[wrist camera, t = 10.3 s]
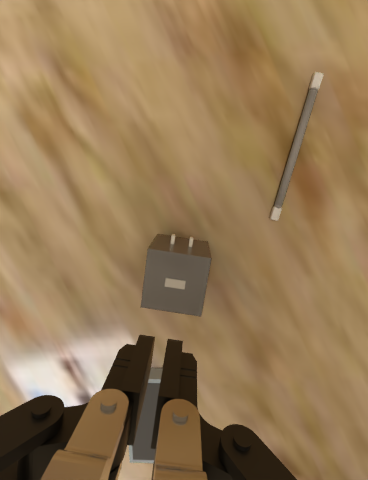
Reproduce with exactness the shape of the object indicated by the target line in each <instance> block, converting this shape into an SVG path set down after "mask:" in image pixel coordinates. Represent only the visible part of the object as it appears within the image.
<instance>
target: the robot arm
mask: <svg viewBox="0 0 368 480" xmlns="http://www.w3.org/2000/svg"><path fill="white" fill-rule="evenodd" d="M154 340H155V337H152V336H145V335H139V338H138V341H137V343H136V345H130V344H126V345H125V346H124V347H122V348H121V349H120V350H119V352H118V354H117V356H116V359H115V361H114V363H113V366H112V367H111V370H110V372H109V374H108V376H107V379H106V381H105V383H104V385H103V387H102V390H101V391H99V392H97V393H96V394H95V395H93V397H92V398H91V399H90V401H89V402H88V403H86V404H83V405H79V406H72V407H64V404H63V402H62V400H61V399H60V398H58V397H56V396H52V395H44V396H39V397H36V398H34V399H32V400H30V401H28V402H26V403H24V404H22V405H20V406H18V407H16V408H15V409H13V410H11V411H9V412H7V413H5V414H3V415H1V416H0V480H118V477H119V473H120V470H121V465H122V460H123V458H124V455H125V451H126V447H127V445H131V446H133V445H134V441H135V437H136V432H137V428H138V424H139V419H140V415H141V411H142V406H143V402H144V398H145V393H146V389H147V385H148V381H149V376H150V370H151V363H152V356H153V348H154ZM182 343H183V341H179V340H172V339H168V341H167V347H166V352H165V358H164V364H163V370H162V376H161V382H160V388H159V393H158V400H157V407H156V414H155V421H154V428H153V435H152V442H151V449H156V451H155V457H154V464H153V471H152V479H151V480H297V479H296V478H295V477H294V476H293V475H292V474H291V473H290V471H289V470H288V469H287V468H286V467H285V466H284V465H283V464H282V463H281V461H280V460H279V459H278V458H277V457H276V456H275V455H274V454H273V453H272V452H271V450H270V449H269V448H268V447H267V446H266V445H265V444H264V443H263V442H262V441H261V439H260V438H259V437H258V436H257V435H256V434H255V433H254V432H253V431H252V430H250V429H249V428H247V427H245V426H242V425H238V424H233V425H229V426H227V427H225V428H224V429H223V431H222V430H220V429H218V428H216V427H213V426H212V425H210V424H208V423H207V422H206V421H205V420H204V419H203V418H202V417H201V415H200V414H199V412H198V408H197V361H196V360H195V358H194V356H193V354H190V353H183V352H182Z"/></svg>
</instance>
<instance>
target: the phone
mask: <svg viewBox="0 0 368 480" xmlns="http://www.w3.org/2000/svg"><path fill="white" fill-rule="evenodd" d="M162 370H163V368H151V370H150V376H149V381H148V385H147V389H146V393H145V398H144V402H143V406H142V411H141V415H140V419H139V424H138V428H137V432H136V437H135V441H134V445H133V446H131V445H129V457H130V462H132V463H154V457H155V451H156V449H151V442H152V435H153V428H154V421H155V414H156V407H157V400H158V393H159V388H160V382H161V376H162Z"/></svg>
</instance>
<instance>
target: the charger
mask: <svg viewBox="0 0 368 480" xmlns="http://www.w3.org/2000/svg"><path fill="white" fill-rule="evenodd" d="M175 235H176V234H172V236H168V235H161V234H157V236H156V237H155V239H154V240H153V242H152V243H151V245H150V246H149V248H148V252H147V260H146V268H145V276H144V284H143V292H142V301H141V307H142V308H149V309H155V310H162V311H168V312H175V313H181V314H188V315H194V316H201V315H202V309H203V303H204V298H205V292H206V286H207V281H208V275H209V269H210V264H211V254H210V250H209V245H208V242H207V241H200V240H194V239H193V237H191V236H190V239H187V238H181V237H175Z"/></svg>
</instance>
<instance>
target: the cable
mask: <svg viewBox="0 0 368 480" xmlns="http://www.w3.org/2000/svg"><path fill="white" fill-rule="evenodd" d="M323 75H324V74H323V73H319V72H315V73H314V74H313V76H312V80H311V83H310V86H309V89H310V90H309V92H308V96H307V99H306V102H305V105H304V109H303V112H302V115H301V119H300V122H299V125H298V128H297V132H296V135H295V138H294V142H293V145H292V148H291V151H290V155H289V158H288V161H287V165H286V168H285V171H284V174H283V178H282V181H281V184H280V188H279V191H278V194H277V197H276V201H275V204H274V206H273V208H272V211H271V214H270V218H269V219H272V220H276V221H278V219H279V216H280V213H281V209H282V208H281V207H282V204H283V201H284V198H285V195H286V192H287V188H288V185H289V182H290V179H291V175H292V172H293V169H294V166H295V163H296V159H297V156H298V153H299V150H300V147H301V143H302V140H303V137H304V134H305V130H306V127H307V124H308V121H309V118H310V114H311V111H312V108H313V105H314V102H315V98H316V95H317V92H318V89H319V87H320V84H321V81H322V78H323Z"/></svg>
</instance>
